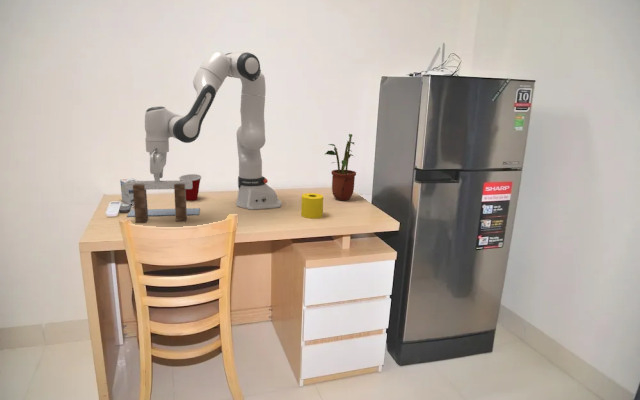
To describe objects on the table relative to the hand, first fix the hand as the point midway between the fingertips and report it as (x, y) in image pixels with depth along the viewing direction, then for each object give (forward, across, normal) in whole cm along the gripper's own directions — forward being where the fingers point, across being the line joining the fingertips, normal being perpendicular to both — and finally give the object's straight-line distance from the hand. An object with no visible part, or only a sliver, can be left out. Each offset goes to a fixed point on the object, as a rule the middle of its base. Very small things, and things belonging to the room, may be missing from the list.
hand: (158, 180), depth 174 cm
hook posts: (+18, 0, 0) cm, 18 cm away
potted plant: (+16, +27, -86) cm, 92 cm away
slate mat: (+18, +10, 0) cm, 20 cm away
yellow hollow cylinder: (+17, +1, -66) cm, 69 cm away
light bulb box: (+18, +29, +16) cm, 38 cm away
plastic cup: (+18, +32, -10) cm, 38 cm away
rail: (+4, 0, 0) cm, 4 cm away
